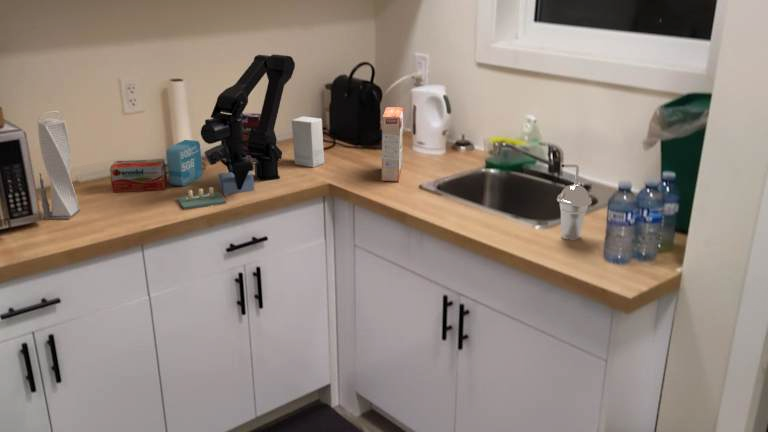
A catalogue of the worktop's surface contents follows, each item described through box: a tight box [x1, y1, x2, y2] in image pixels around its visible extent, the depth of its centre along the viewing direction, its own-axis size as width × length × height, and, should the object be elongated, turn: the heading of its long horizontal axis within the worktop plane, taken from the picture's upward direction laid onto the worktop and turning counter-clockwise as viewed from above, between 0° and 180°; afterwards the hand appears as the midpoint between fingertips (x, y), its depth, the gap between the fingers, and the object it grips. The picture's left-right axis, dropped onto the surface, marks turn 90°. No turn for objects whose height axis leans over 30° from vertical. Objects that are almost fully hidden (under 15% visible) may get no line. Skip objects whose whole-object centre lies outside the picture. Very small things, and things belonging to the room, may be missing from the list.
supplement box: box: [242, 112, 261, 163], centre depth 241 cm, size 9×5×16 cm, turn 80°
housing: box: [218, 171, 255, 195], centre depth 213 cm, size 9×5×5 cm, turn 116°
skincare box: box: [291, 115, 325, 168], centre depth 236 cm, size 8×7×16 cm
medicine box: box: [109, 158, 168, 193], centre depth 214 cm, size 15×8×8 cm, turn 100°
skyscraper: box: [37, 110, 81, 221], centre depth 189 cm, size 8×8×28 cm
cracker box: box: [381, 106, 404, 182], centre depth 224 cm, size 14×6×21 cm, turn 175°
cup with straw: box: [556, 163, 592, 241], centre depth 178 cm, size 8×9×20 cm
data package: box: [166, 139, 203, 187], centre depth 219 cm, size 12×4×12 cm, turn 163°
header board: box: [176, 186, 227, 211], centre depth 203 cm, size 12×9×4 cm
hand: (236, 186), depth 213 cm, fingers closed on housing, 5 cm apart
